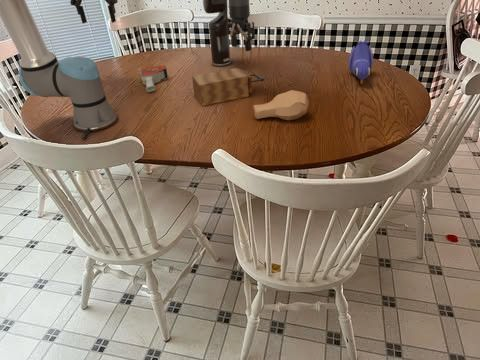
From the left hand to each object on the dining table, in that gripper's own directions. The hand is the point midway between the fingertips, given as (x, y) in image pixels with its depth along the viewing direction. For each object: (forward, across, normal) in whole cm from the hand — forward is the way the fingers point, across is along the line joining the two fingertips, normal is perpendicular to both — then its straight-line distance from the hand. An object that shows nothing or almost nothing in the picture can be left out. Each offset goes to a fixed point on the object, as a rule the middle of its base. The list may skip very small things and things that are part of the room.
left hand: (99, 22), depth 155 cm
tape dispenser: (+26, -20, +4) cm, 33 cm away
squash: (+26, -81, +37) cm, 93 cm away
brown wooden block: (+26, -55, +18) cm, 64 cm away
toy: (+26, -113, -1) cm, 116 cm away
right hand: (+8, -64, +14) cm, 66 cm away
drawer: (+25, -60, +16) cm, 67 cm away
